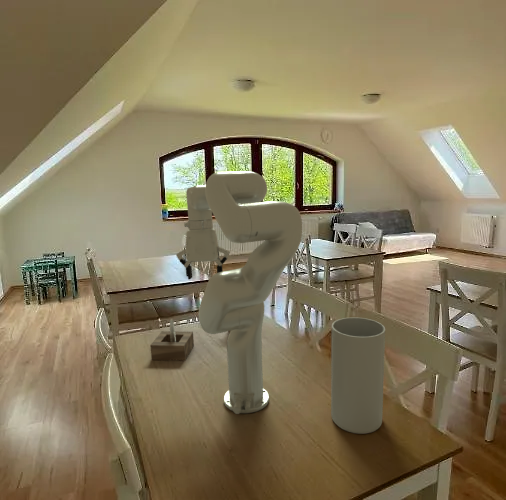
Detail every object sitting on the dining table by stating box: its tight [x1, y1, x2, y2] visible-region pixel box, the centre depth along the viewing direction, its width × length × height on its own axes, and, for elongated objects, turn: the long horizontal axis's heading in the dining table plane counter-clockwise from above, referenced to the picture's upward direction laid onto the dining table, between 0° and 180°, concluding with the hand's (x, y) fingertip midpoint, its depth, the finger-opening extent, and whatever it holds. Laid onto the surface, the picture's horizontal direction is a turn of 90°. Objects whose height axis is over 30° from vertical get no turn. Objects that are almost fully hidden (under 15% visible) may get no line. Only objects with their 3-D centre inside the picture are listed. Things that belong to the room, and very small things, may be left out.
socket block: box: [150, 330, 195, 361], centre depth 139 cm, size 12×12×6 cm
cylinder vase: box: [330, 316, 386, 435], centre depth 96 cm, size 12×12×25 cm
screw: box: [169, 318, 176, 342], centre depth 138 cm, size 13×5×5 cm
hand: (204, 278), depth 125 cm, fingers open, 9 cm apart
